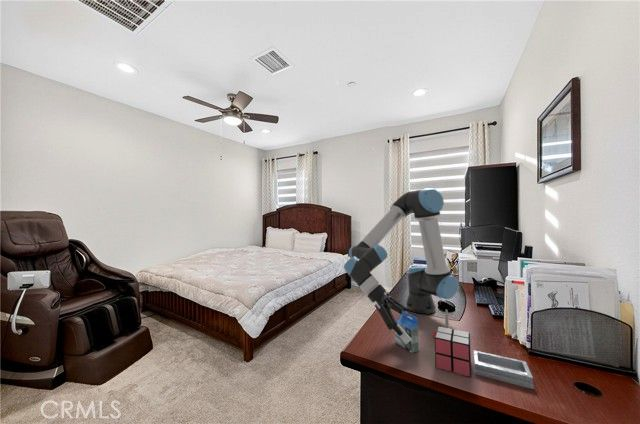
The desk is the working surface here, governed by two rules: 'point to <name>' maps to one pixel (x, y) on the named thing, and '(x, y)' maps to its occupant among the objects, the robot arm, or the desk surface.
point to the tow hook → (445, 322)
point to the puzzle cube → (453, 351)
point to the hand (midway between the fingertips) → (412, 334)
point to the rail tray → (503, 369)
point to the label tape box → (408, 332)
